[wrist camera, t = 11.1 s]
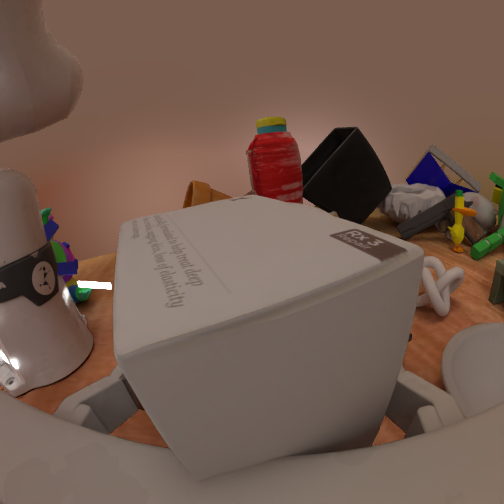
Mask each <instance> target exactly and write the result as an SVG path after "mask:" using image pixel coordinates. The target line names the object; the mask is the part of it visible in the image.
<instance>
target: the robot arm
mask: <svg viewBox="0 0 504 504" xmlns="http://www.w3.org/2000/svg"><path fill="white" fill-rule="evenodd" d="M82 85H83V76H82V69H81V66H80V64H79V61H78V60H77V58H76V57H75V56H74V55H73V54H72V53H71V52H70V51H69V50H67V49H65V48H64V47H62V46H61V45H60V44H59V43H58V42H57V41H56V40H55V39H54V38H53V36H52V35H51V33H50V32H49V30H48V28H47V26H46V24H45V21H44V17H43V11H42V0H0V143H1V142H4V141H7V140H10V139H14V138H17V137H20V136H24V135H27V134H30V133H34V132H37V131H40V130H42V129H44V128H46V127H49V126H51V125H53V124H55V123H57V122H59V121H62V120H64V119H66V118H67V117H68V116H69V115H70V113H71V112H72V111H73V109H74V108H75V106H76V104H77V102H78V100H79V97H80V95H81V91H82ZM57 270H58V265H57V261H56V258H55V252H54V250H53V249H52V245H51V243H50V242H49V241H47V238H46V234H45V230H44V226H43V221H42V217H41V212H40V207H39V202H38V197H37V191H36V188H35V185H34V183H33V182H32V180H31V179H30V178H29V177H28V176H26V175H25V174H23V173H21V172H18V171H15V170H11V169H7V168H2V167H0V385H1V386H2V387H3V388H4V389H5V390H6V391H7V392H8V393H9V394H10V395H9V394H7V393H5V392H4V391H1V390H0V504H504V402H502V403H500V404H498V405H496V406H494V407H492V408H489V409H487V410H485V411H483V412H481V413H478V414H476V415H474V416H471V417H469V418H465V416H464V414H463V412H462V410H461V408H460V406H459V404H458V402H457V400H456V399H455V397H454V396H453V395H451V394H449V393H447V392H446V391H444V390H442V389H440V388H438V387H437V386H435V385H433V384H431V383H430V382H428V381H426V380H424V379H423V378H421V377H419V376H417V375H416V374H414V373H412V372H410V371H407V372H406V371H405V369H404V367H403V364H402V366H401V369H400V372H399V375H398V379H397V382H396V385H395V388H394V391H393V393H392V396H391V399H390V402H389V404H388V407H387V410H386V413H385V415H386V416H387V417H388V418H389V419H390V420H392V421H393V422H394V423H395V424H396V425H397V426H398V427H399V428H401V429H402V430H403V431H404V432H405V433H406V435H405V437H404V439H402V440H398V441H394V442H389V443H385V444H380V445H375V446H370V447H365V448H359V449H353V450H346V451H339V452H331V453H322V454H311V455H296V456H283V457H279V458H275V459H272V460H269V461H266V462H263V463H259V464H256V465H253V466H250V467H246V468H243V469H239V470H236V471H232V472H228V473H224V474H220V475H216V476H212V477H210V478H208V479H206V480H203V481H200V482H198V481H196V480H195V479H194V478H193V477H192V476H191V474H190V473H189V472H188V470H187V469H186V468H185V467H184V466H183V464H182V463H181V462H180V460H179V459H178V458H177V457H176V455H175V454H174V453H173V452H172V450H171V449H170V448H164V447H158V446H153V445H148V444H143V443H139V442H135V441H130V440H126V439H122V438H118V437H115V436H111V435H110V433H111V432H112V431H114V430H115V429H116V428H118V427H119V426H120V425H121V424H123V423H124V422H125V421H126V420H128V419H129V418H130V417H131V416H132V415H134V414H135V413H136V412H137V411H139V410H145V409H144V408H143V406H142V404H141V403H140V401H139V399H138V398H137V396H136V394H135V393H134V391H133V389H132V388H131V386H130V384H129V383H128V381H127V379H126V377H125V376H124V374H123V372H122V370H121V369H120V367H119V365H118V364H117V365H116V367H115V368H114V370H113V371H112V373H111V374H110V376H109V377H107V376H105V377H104V378H102V379H100V380H98V381H96V382H94V383H92V384H91V385H89V386H87V387H85V388H83V389H81V390H79V391H77V392H75V393H74V394H72V395H70V396H68V397H66V398H65V399H64V400H63V402H62V403H61V404H60V406H59V407H58V409H57V410H56V411H55V413H54V414H53V415H51V414H48V413H46V412H44V411H41V410H39V409H37V408H35V407H33V406H31V405H28V404H26V403H24V402H22V401H20V400H18V399H16V398H14V397H16V396H19V395H21V394H23V393H25V392H27V391H29V390H31V389H33V388H36V387H41V386H45V385H48V384H51V383H54V382H56V381H58V380H60V379H62V378H64V377H66V376H67V375H69V374H70V373H71V372H73V371H74V370H75V369H76V368H78V367H79V366H80V365H81V364H82V363H83V362H84V360H85V359H86V358H87V357H88V355H89V353H90V352H91V349H92V347H93V336H92V334H91V332H90V331H89V330H88V328H87V320H86V318H85V317H84V315H82V314H80V313H79V311H78V309H77V307H76V305H75V303H74V301H73V299H72V297H71V295H70V293H69V290H68V288H67V286H66V284H65V282H64V280H63V278H62V277H61V276H59V275H58V274H57ZM78 286H79V287H86V288H100V289H112V287H111V283H108V282H87V281H78ZM12 396H13V397H12ZM138 409H139V410H138Z"/></svg>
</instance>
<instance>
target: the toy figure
mask: <svg viewBox="0 0 504 504" xmlns="http://www.w3.org/2000/svg"><path fill="white" fill-rule="evenodd" d="M456 194H457V195H455V196H456V197H455V208H452V209H453V211H455V224H454V226H453V227H452V228H451V227H449V226H448V228H449V230H450V233H451V238H452V240H453V242H454V243H455V248H454V249H453V250H454V251H456V252H459V253H461V252H462V251H464V249H463V248H462V247H459V244H460V243H461V242H462V240H463V239H464V228H463V226H462V219H463V215H466V216H470V217H473V216H475V215H477V211H475V210H473V209H470V208H466V207H464V197H463V196H465V195H462V194H463V190H456Z"/></svg>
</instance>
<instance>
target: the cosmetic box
mask: <svg viewBox="0 0 504 504" xmlns="http://www.w3.org/2000/svg"><path fill="white" fill-rule="evenodd" d="M423 263H424V251H423V249H422V248H421V247H419V246H418V245H415V244H412V243H410V242H407V241H404V240H401V239H399V238H396V237H393V236H391V235H388V234H385V233H382V232H379V231H377V230H374V229H371V228H369V227H366V226H363V225H360V224H357V223H354V222H351V221H347V220H344V219H341V218H338V217H334V216H333V215H331V214H329V213H327V212H326V211H324V210H322V209H320V208H316V207H313V206H309V205H304V204H299V203H290V202H283V201H280V200H276V199H271V198H267V197H262V196H258V195H247V196H241V197H236V198H230V199H225V200H219V201H214V202H209V203H205V204H201V205H196V206H192V207H187V208H183V209H179V210H174V211H169V212H165V213H159V214H155V215H150V216H145V217H140V218H136V219H133V220H130V221H127V222H124V223H122V224H121V228H120V235H119V241H118V250H117V256H116V267H115V281H114V299H113V334H114V355H115V359H116V361H117V363H118V365H119V367H120V369H121V370H122V372H123V374H124V376H125V377H126V379H127V381H128V383H129V384H130V386H131V388H132V389H133V391H134V393H135V394H136V396H137V398H138V399H139V401H140V403H141V404H142V406H143V408H144V409H145V411H146V413H147V414H148V416H149V418H150V419H151V421H152V422H153V424H154V425H155V427H156V429H157V430H158V432H159V433H160V435H161V436H162V438H163V439H164V441H165V442H166V444H167V445H168V446H169V448H170V449H171V450H172V452H173V453H174V454H175V455H176V457H177V458H178V459H179V460H180V462H181V463H182V464H183V466H184V467H185V468H186V469H187V470H188V472H189V473H190V474H191V476H192V477H193V478H194V479H195V480H196V481H198V482H200V481H203V480H206V479H208V478H210V477H212V476H216V475H220V474H224V473H228V472H232V471H236V470H239V469H243V468H246V467H250V466H253V465H256V464H259V463H263V462H266V461H269V460H272V459H275V458H279V457H283V456H296V455H311V454H322V453H331V452H339V451H346V450H353V449H359V448H365V447H370V446H372V444H373V442H374V440H375V438H376V435H377V433H378V431H379V428H380V426H381V423H382V421H383V418H384V416H385V413H386V410H387V407H388V404H389V402H390V399H391V396H392V393H393V391H394V388H395V385H396V382H397V379H398V375H399V372H400V369H401V366H402V362H403V359H404V355H405V351H406V347H407V344H408V340H409V335H410V331H411V327H412V323H413V318H414V314H415V309H416V304H417V299H418V294H419V288H420V283H421V277H422V270H423Z"/></svg>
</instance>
